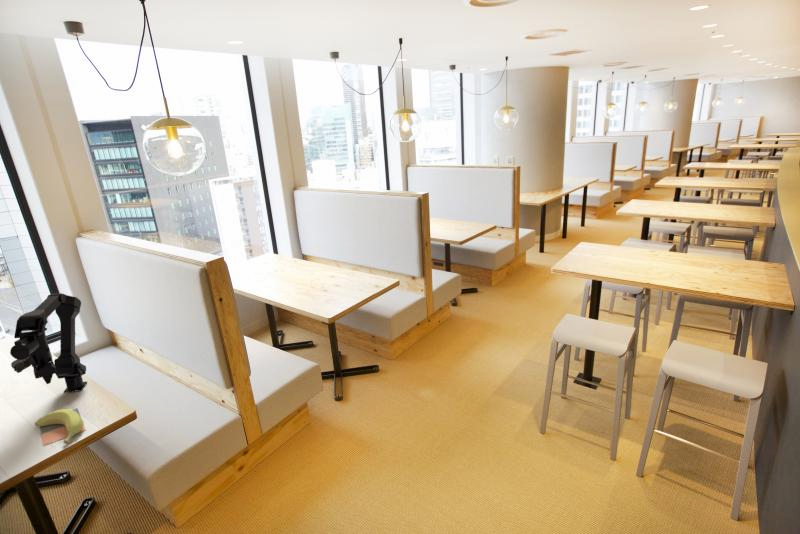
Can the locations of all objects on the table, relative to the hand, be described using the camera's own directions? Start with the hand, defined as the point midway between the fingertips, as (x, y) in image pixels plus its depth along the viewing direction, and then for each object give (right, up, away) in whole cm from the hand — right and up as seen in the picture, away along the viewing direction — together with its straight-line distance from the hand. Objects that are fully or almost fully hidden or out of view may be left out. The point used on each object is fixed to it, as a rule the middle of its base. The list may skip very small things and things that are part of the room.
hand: (48, 383), depth 165 cm
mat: (+7, -13, -3) cm, 15 cm away
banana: (+12, -15, -9) cm, 21 cm away
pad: (+13, -15, -9) cm, 22 cm away
